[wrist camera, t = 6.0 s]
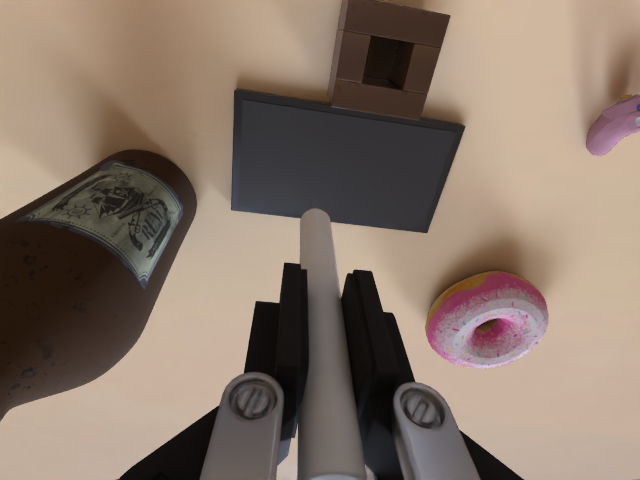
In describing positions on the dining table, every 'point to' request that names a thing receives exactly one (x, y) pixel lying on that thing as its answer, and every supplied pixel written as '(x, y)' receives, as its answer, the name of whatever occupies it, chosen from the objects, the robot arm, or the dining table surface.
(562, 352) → the dining table surface
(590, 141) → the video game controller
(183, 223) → the rum bottle
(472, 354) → the donut
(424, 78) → the pen holder
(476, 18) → the dining table surface
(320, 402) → the stylus
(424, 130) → the tablet
